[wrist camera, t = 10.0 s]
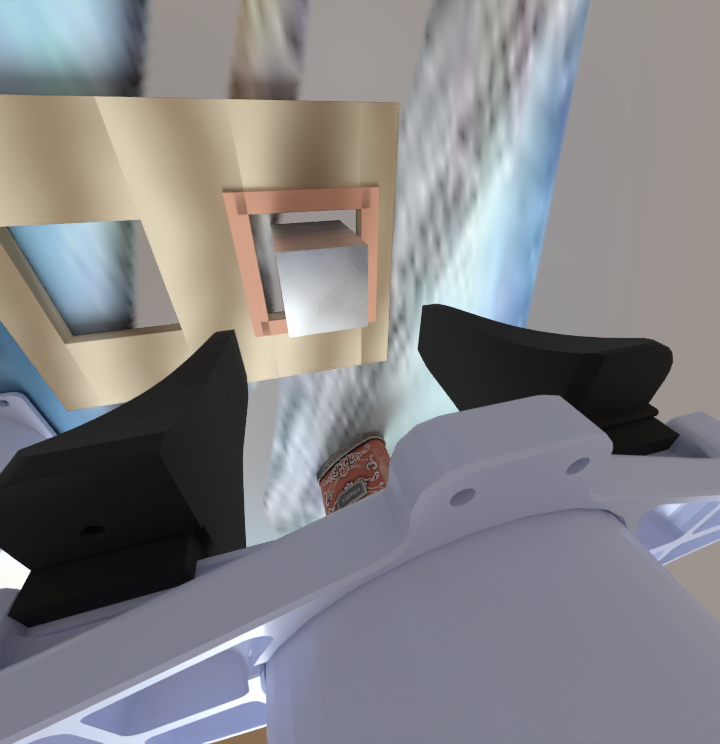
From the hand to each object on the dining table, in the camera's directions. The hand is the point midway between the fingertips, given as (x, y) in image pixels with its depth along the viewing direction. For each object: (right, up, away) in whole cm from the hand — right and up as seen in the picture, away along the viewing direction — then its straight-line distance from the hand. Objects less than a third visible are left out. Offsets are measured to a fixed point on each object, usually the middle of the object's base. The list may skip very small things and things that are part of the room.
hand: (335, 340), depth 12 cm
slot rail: (-7, +5, +6) cm, 11 cm away
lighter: (0, -9, +19) cm, 21 cm away
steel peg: (-2, +6, +7) cm, 10 cm away
